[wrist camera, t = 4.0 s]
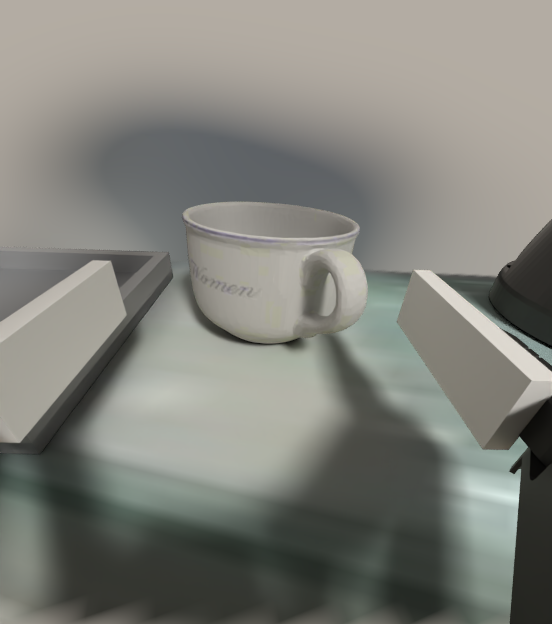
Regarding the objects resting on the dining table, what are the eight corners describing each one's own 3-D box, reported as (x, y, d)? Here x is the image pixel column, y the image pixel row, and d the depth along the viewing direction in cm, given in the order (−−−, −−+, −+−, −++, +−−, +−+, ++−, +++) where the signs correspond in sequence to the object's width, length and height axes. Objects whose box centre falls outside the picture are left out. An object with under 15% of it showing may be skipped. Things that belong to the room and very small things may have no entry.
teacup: (194, 293, 25) (182, 196, 20) (309, 282, 27) (318, 194, 23) (205, 427, 13) (180, 272, 9) (398, 386, 16) (449, 251, 12)
